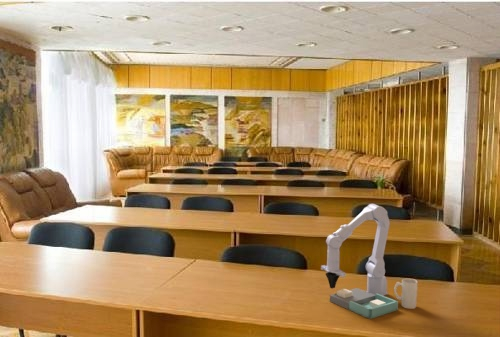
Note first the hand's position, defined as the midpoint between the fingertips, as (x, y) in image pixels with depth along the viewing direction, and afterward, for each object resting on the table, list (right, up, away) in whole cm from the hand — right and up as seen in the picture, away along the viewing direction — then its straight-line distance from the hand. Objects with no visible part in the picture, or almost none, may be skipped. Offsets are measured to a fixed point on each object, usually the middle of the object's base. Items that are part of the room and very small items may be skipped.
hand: (332, 287), depth 228 cm
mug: (+31, -6, -11) cm, 34 cm away
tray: (+16, -6, -16) cm, 23 cm away
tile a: (+18, -3, -14) cm, 23 cm away
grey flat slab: (+9, -5, -6) cm, 11 cm away
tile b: (+5, -2, -6) cm, 8 cm away
